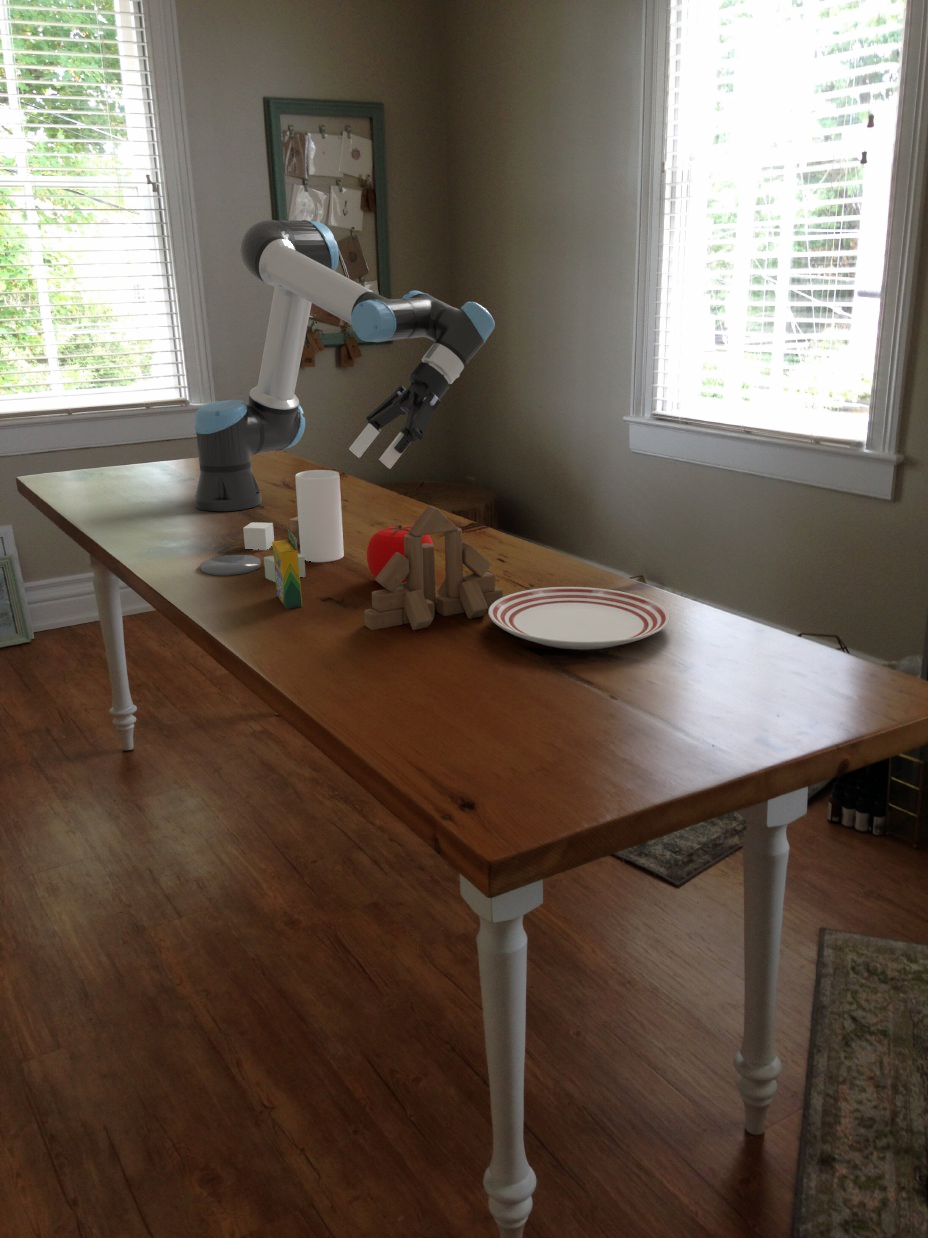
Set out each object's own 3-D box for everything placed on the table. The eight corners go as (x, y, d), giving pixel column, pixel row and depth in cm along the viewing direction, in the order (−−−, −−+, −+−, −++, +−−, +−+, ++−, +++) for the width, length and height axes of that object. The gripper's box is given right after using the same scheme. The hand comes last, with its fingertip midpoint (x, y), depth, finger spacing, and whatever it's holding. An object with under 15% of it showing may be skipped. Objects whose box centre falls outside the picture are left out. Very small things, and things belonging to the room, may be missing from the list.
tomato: (375, 595, 177) (372, 535, 173) (362, 576, 187) (359, 519, 184) (443, 588, 180) (441, 529, 176) (427, 570, 190) (425, 514, 187)
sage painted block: (265, 578, 188) (263, 557, 186) (295, 572, 191) (294, 551, 189) (275, 583, 184) (273, 561, 183) (305, 577, 188) (304, 556, 186)
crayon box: (276, 596, 177) (270, 530, 173) (293, 594, 178) (288, 528, 174) (284, 609, 171) (279, 540, 167) (302, 606, 171) (297, 538, 168)
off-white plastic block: (245, 549, 206) (243, 527, 204) (253, 544, 210) (251, 522, 209) (266, 550, 205) (265, 528, 204) (274, 544, 209) (272, 522, 208)
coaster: (189, 567, 194) (188, 563, 194) (239, 555, 202) (239, 551, 201) (222, 579, 187) (221, 574, 187) (272, 566, 194) (272, 562, 194)
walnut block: (291, 543, 210) (289, 519, 208) (304, 537, 214) (303, 514, 212) (312, 546, 208) (310, 521, 206) (325, 540, 212) (324, 516, 210)
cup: (347, 550, 204) (343, 469, 198) (338, 562, 196) (334, 478, 191) (306, 550, 205) (301, 469, 199) (296, 562, 197) (290, 478, 192)
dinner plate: (555, 591, 178) (555, 573, 177) (701, 624, 161) (702, 603, 160) (451, 636, 158) (451, 615, 157) (606, 678, 141) (607, 655, 140)
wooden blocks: (384, 641, 156) (379, 525, 150) (352, 618, 166) (346, 508, 161) (525, 612, 168) (525, 503, 162) (486, 592, 178) (485, 489, 172)
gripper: (480, 392, 193) (411, 481, 191) (417, 380, 214) (355, 460, 212) (455, 365, 189) (384, 455, 187) (393, 355, 210) (329, 437, 207)
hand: (368, 458), depth 199 cm, fingers open, 13 cm apart
